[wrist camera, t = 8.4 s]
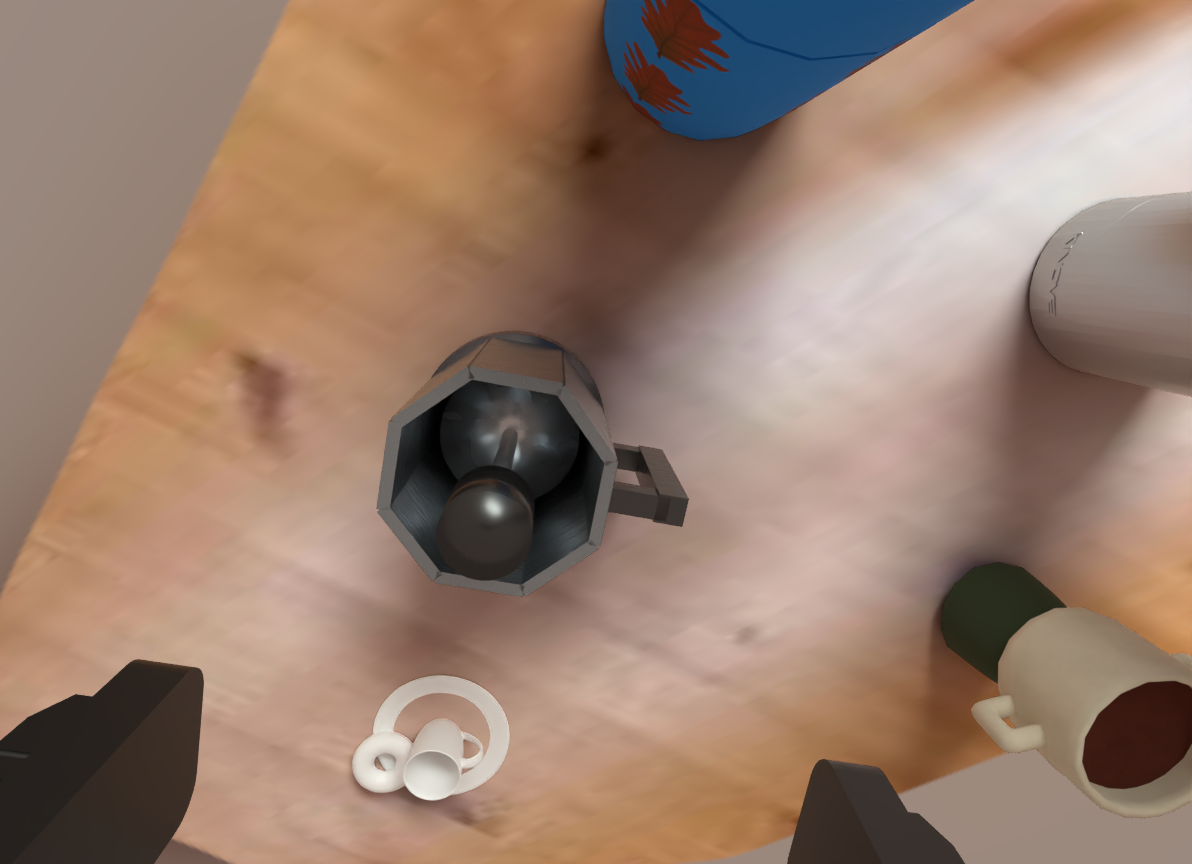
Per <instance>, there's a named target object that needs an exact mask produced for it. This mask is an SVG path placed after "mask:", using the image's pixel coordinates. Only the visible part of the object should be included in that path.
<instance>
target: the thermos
mask: <svg viewBox="0 0 1192 864" xmlns="http://www.w3.org/2000/svg"><path fill="white" fill-rule="evenodd" d="M972 1H974V0H605V9H604V39H605V43H606V47H607V51H608V55H609V59H610V63H611V67H612V71H613V74H614V77H615V78H616V80H617V82H618V83H619V85H620V86H621V88H622V89H623V91H624V92H625V94H626V95H627V97H628V98H629V100H630V101H631V103H632V104H633V106H634V107H635V109H637V110H638V111H639V112H641V113H642V114H643V115H645V116H646V117H647V118H649V119H650V120H651V121H653V122H654V123H655V124H657V125H658V126H659V127H661V128H662V129H663V130H665V131H668V132H671V133H675V134H679V135H682V136H686V137H689V138H693V139H696V140H710V139H720V138H730V137H737V136H740V135H742V134H745V133H747V132H750V131H753V130H755V129H757V128H759V127H761V126H763V125H765V124H767V123H769V122H771V121H773V120H775V119H777V118H779V117H781V116H783V115H785V114H787V113H789V112H791V111H793V110H795V109H797V108H799V107H800V106H802V105H803V104H805V103H807V102H808V101H810V100H812V99H813V98H815V97H817V96H818V95H820V94H821V93H823V92H825V91H826V90H828V89H830V88H831V87H833V86H835V85H836V84H838V83H840V82H841V81H843V80H844V79H846V78H848V77H849V76H851V75H853V74H854V73H856V72H858V71H859V70H861V69H862V68H864V67H866V66H867V65H869V64H871V63H872V62H874V61H876V60H877V59H879V58H881V57H882V56H884V55H885V54H887V53H889V52H890V51H892V50H894V49H895V48H897V47H899V46H900V45H902V44H903V43H905V42H907V41H908V40H910V39H912V38H913V37H915V36H917V35H918V34H920V33H922V32H923V31H925V30H926V29H928V28H930V27H931V26H933V25H935V24H936V23H937V22H939V21H941V20H943V19H944V18H946V17H948V16H949V15H951V14H953V13H954V12H956V11H958V10H959V9H961V8H963V7H964V6H966V5H967V4H969V3H971V2H972Z"/></svg>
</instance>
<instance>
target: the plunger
mask: <svg viewBox="0 0 1192 864" xmlns="http://www.w3.org/2000/svg"><path fill="white" fill-rule="evenodd" d="M440 442H441V448H442V452H443V455H444V458H445V460H446V462H447V465H448V467H449V468H450V470H451V471H452V473H453V474H454V475H455V477H456V478H457V479H458V482H457V483H456V484H455V486H454V488H453V490H452V492H451V494H450V497H449V499H448V501H447V503H446V506H445V508H444V510H443V512H442V515H441V517H440V519H439V522H438V526H437V532H436V539H437V545H438V549H439V552H440V554H441V556H442V558H443V559H444V560H445V562H446V563H447V564H448V565H449V566H450V567H451V568H452V569H453V570H454V571H456V572H457V573H459V574H460V575H462V576H464V577H467V578H470V579H474V580H480V581H490V580H496V579H500V578H502V577H505V576H507V575H509V574H511V573H512V572H514V571H515V570H516V569H517V568H518V567H519V566H520V565H521V564H522V563H523V562H524V560H525V559H526V557H527V555H528V553H529V551H530V547H531V542H532V531H533V520H534V508H535V507H534V498H537V497H539V496H542V495H543V494H545V493H547V492H549V491H550V490H552V489H553V488H554V487H555V486H557V485H558V484H559V483H560V482H561V481H562V480H563V479H564V477H565V476H566V475H567V473H568V472H569V470H570V469H571V467H572V465H573V463H574V460H575V458H576V455H577V451H578V446H579V426H578V425H577V423H576V422H575V420H574V419H573V417H572V416H571V415H570V413H569V412H568V410H567V409H566V407H565V406H564V405H563V403H562V402H561V400H560V399H559V397H558V396H557V395H552V394H547V393H542V392H536V391H531V390H525V389H520V388H515V387H509V386H504V385H499V384H493V383H488V382H482V381H477V380H470V381H469V382H468V383H466V384H465V385H463V386H462V387H460V388H459V389H457V391H456V392H455V393H454V395H453V396H452V397H451V399H450V400H449V402H448V404H447V406H446V408H445V411H444V413H443V416H442V421H441V427H440Z"/></svg>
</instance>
